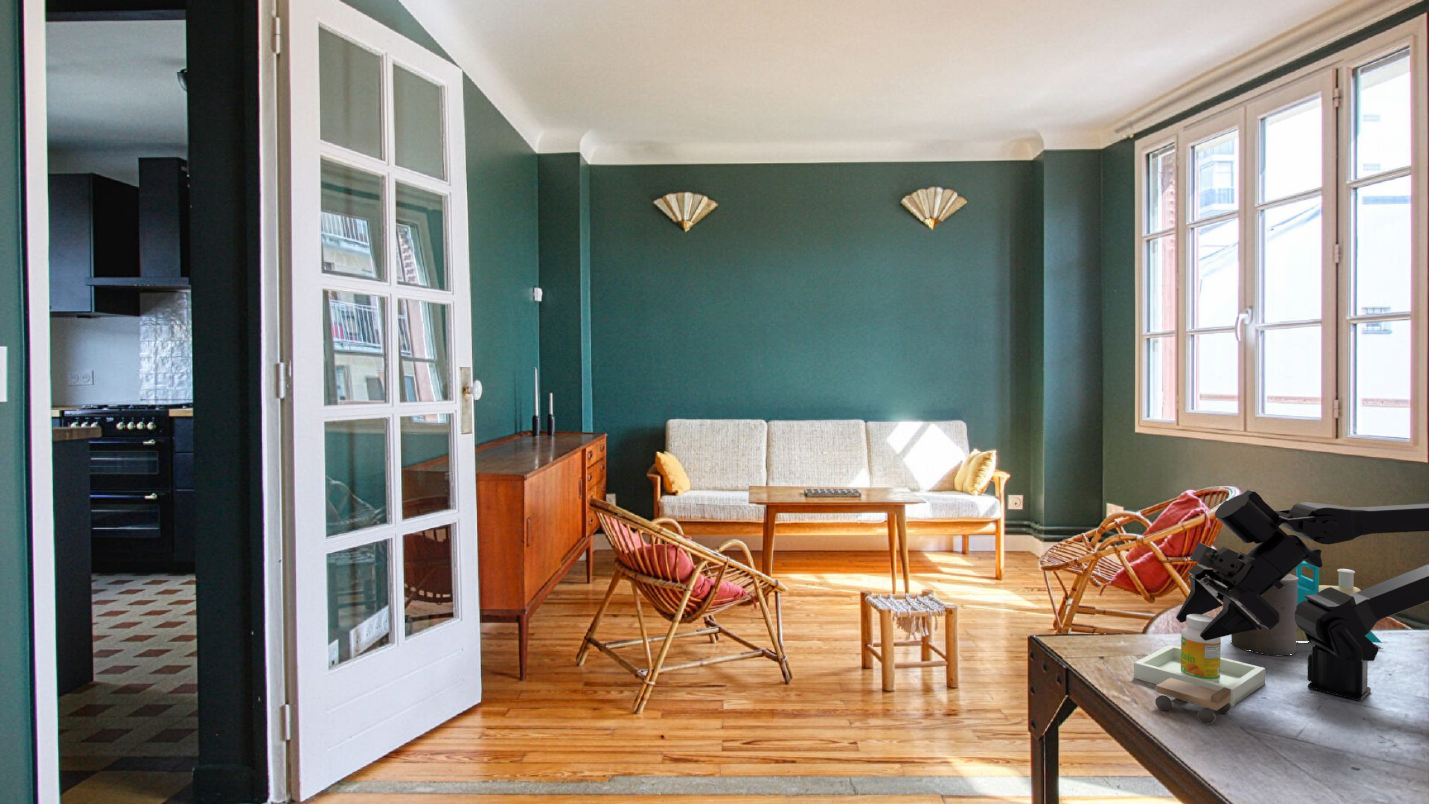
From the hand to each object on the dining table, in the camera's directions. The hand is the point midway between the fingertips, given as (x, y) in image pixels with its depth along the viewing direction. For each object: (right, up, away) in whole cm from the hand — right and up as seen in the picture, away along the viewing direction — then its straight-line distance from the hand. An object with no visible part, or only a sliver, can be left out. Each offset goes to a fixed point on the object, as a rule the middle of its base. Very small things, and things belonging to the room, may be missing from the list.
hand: (1189, 628), depth 121 cm
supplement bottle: (+2, -8, 0) cm, 8 cm away
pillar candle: (+23, -8, +15) cm, 29 cm away
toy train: (+37, -8, +20) cm, 43 cm away
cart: (-7, -9, -12) cm, 16 cm away
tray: (+1, -8, 0) cm, 8 cm away
